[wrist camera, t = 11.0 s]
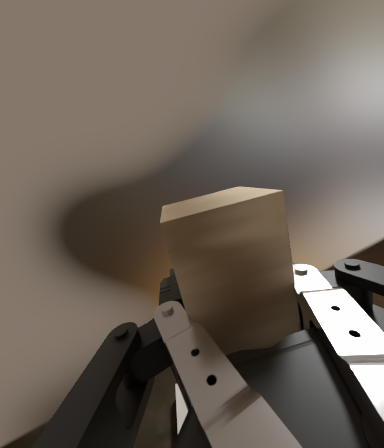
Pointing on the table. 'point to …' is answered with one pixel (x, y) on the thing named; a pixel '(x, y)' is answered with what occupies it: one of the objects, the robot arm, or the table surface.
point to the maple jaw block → (234, 265)
